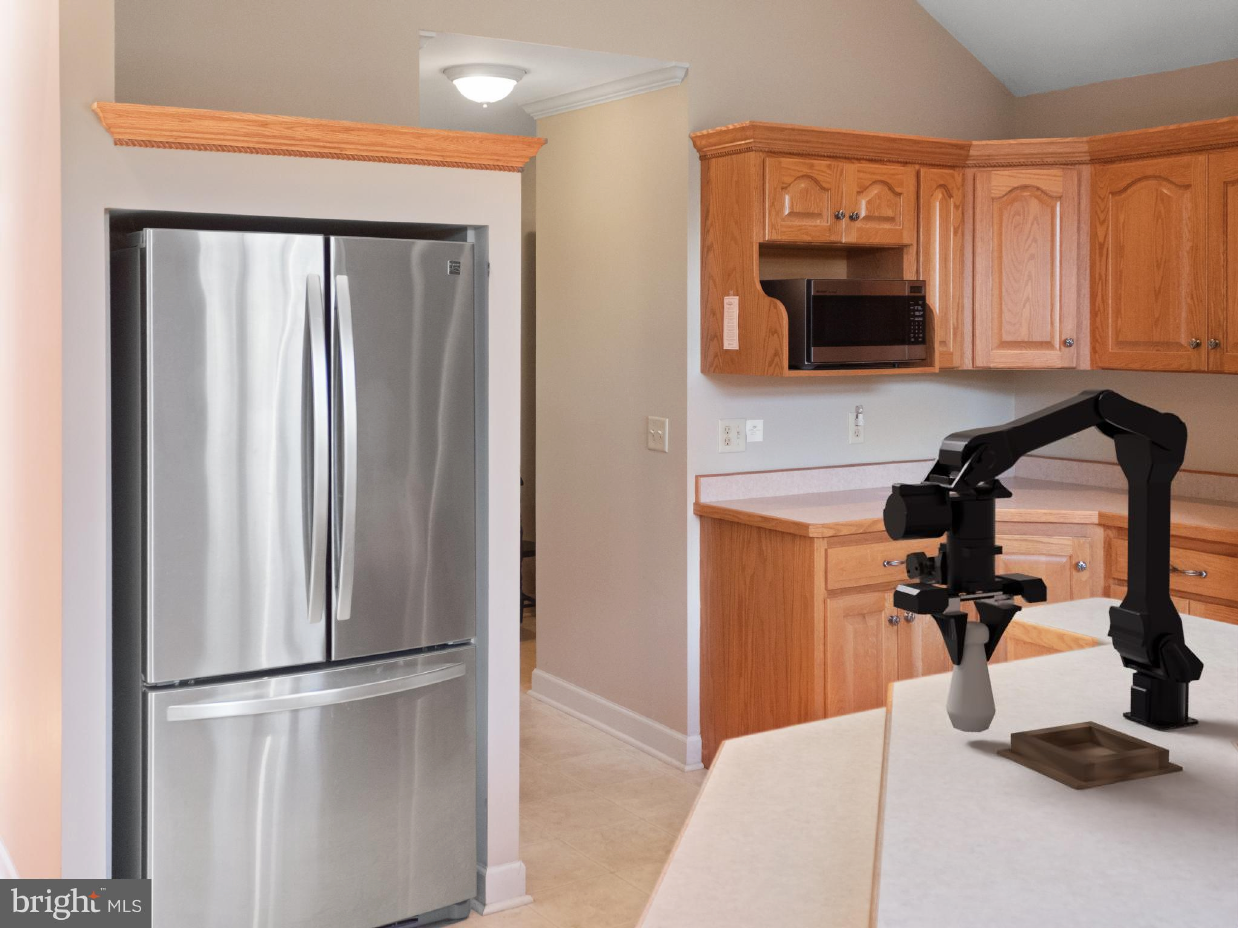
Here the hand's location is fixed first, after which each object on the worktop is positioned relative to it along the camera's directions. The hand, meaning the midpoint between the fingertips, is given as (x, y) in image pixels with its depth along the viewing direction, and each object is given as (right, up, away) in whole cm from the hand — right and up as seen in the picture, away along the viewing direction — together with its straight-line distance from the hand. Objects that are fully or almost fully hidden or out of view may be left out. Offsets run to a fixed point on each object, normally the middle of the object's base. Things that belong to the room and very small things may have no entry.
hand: (970, 662), depth 140 cm
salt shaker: (0, -8, +1) cm, 8 cm away
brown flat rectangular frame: (+11, -10, -7) cm, 17 cm away
